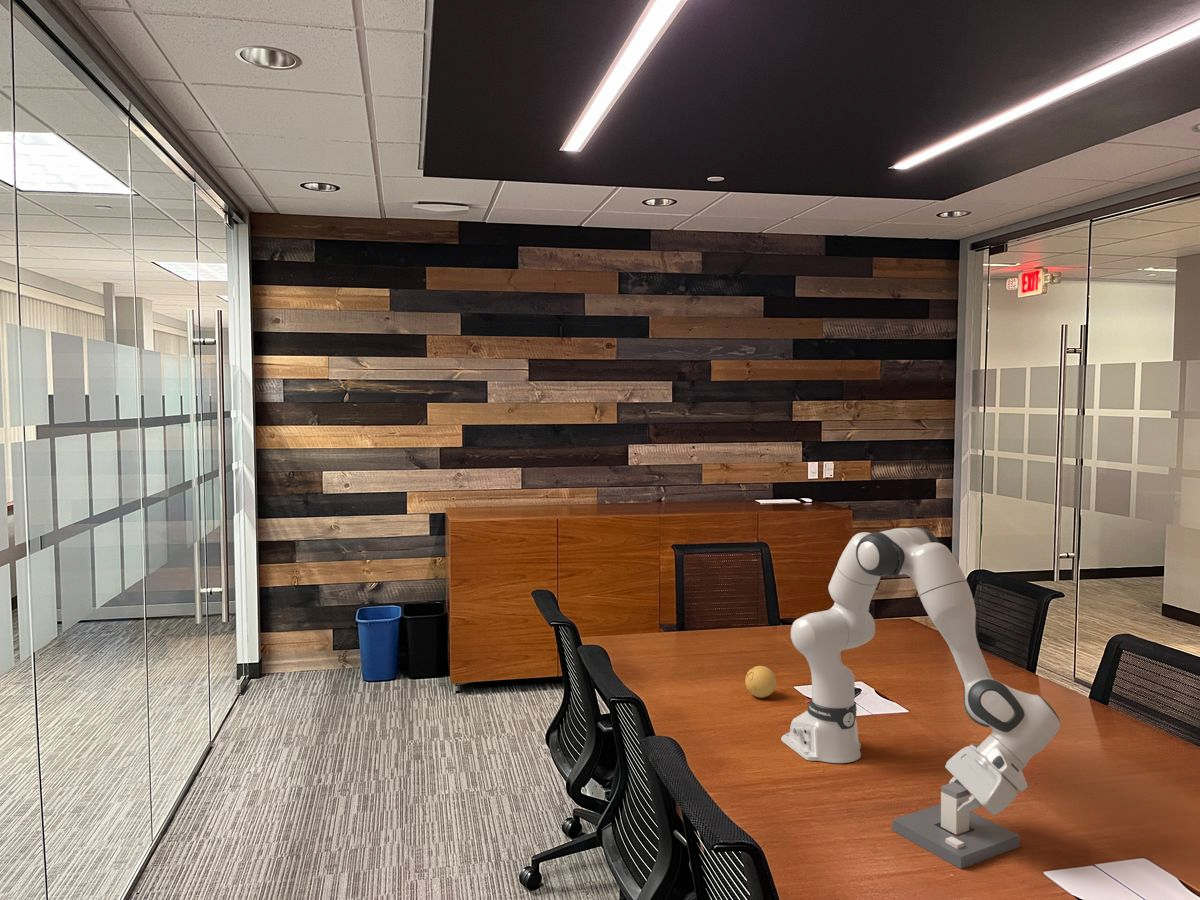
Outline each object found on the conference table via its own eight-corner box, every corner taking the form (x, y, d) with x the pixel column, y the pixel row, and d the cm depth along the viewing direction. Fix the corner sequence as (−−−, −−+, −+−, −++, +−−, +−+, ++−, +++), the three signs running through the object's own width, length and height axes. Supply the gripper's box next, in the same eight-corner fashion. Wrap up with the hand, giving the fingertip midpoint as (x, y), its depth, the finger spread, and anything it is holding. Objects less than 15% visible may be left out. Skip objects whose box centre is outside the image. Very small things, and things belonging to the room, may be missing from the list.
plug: (940, 826, 185) (941, 786, 185) (953, 822, 187) (953, 782, 187) (956, 834, 182) (956, 793, 181) (969, 830, 184) (969, 789, 183)
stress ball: (779, 699, 275) (769, 672, 282) (781, 683, 268) (771, 656, 275) (749, 706, 274) (740, 679, 282) (751, 690, 268) (741, 662, 275)
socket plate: (892, 830, 188) (892, 815, 188) (949, 811, 197) (949, 797, 197) (960, 869, 172) (960, 853, 172) (1019, 846, 181) (1019, 831, 181)
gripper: (966, 731, 194) (923, 774, 194) (1010, 769, 174) (962, 817, 174) (985, 750, 194) (942, 793, 195) (1032, 790, 174) (983, 838, 174)
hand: (952, 805), depth 184 cm, fingers closed on plug, 5 cm apart
